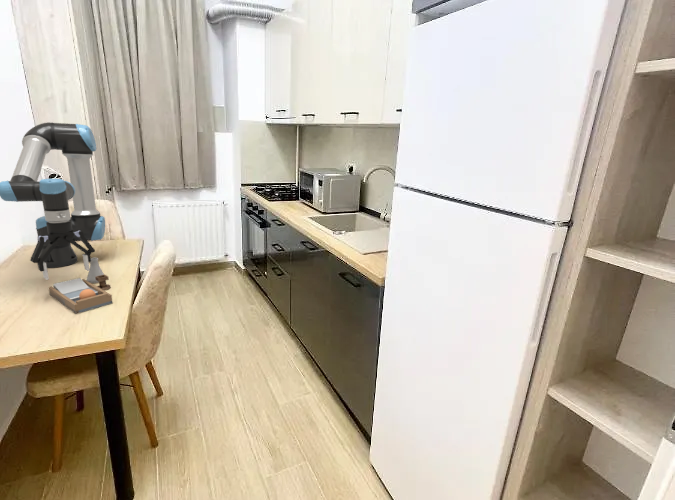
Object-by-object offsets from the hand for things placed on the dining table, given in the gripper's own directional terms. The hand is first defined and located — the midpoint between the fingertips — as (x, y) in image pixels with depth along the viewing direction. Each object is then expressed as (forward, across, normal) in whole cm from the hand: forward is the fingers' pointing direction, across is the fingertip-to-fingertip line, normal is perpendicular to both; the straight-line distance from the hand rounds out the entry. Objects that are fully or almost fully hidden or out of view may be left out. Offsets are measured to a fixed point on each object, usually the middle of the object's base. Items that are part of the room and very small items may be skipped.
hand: (67, 274), depth 140 cm
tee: (+8, +10, -4) cm, 13 cm away
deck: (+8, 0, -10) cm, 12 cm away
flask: (+8, +12, +6) cm, 16 cm away
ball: (+4, 0, -17) cm, 17 cm away
